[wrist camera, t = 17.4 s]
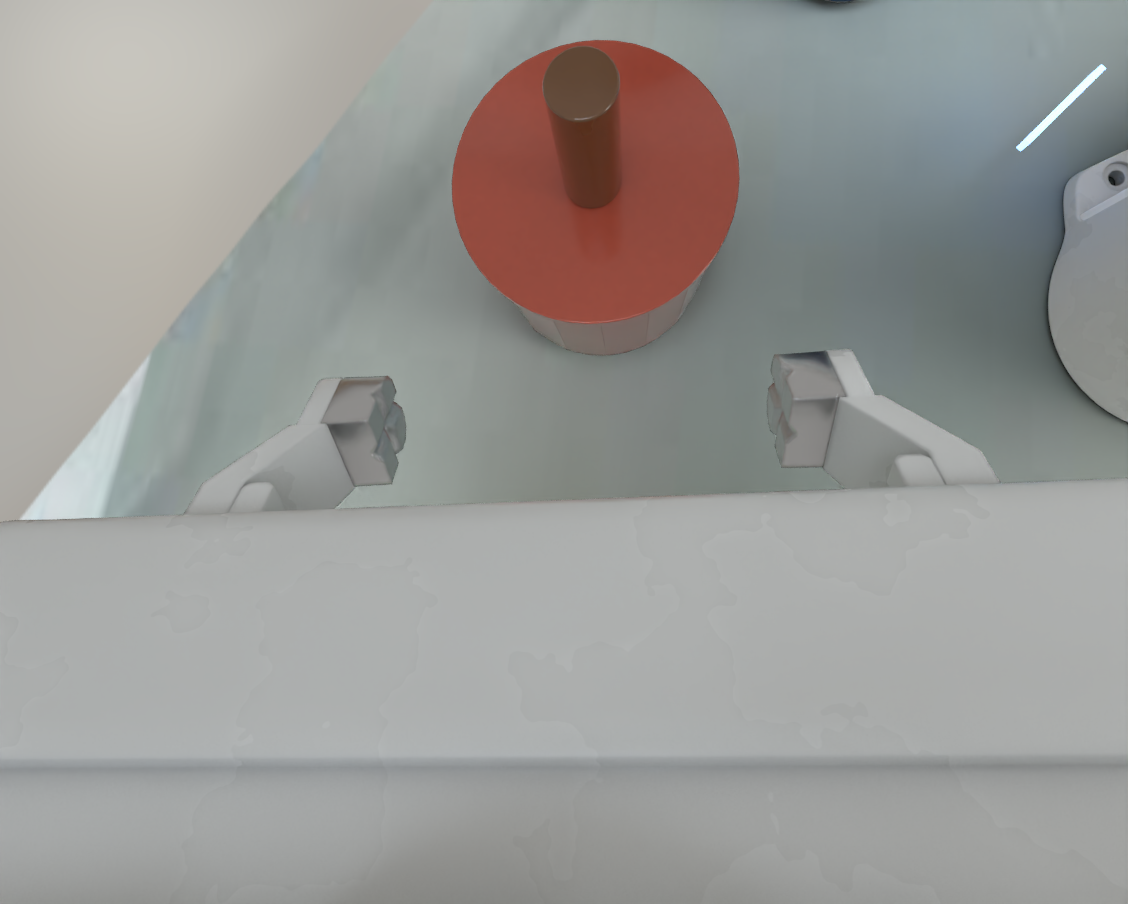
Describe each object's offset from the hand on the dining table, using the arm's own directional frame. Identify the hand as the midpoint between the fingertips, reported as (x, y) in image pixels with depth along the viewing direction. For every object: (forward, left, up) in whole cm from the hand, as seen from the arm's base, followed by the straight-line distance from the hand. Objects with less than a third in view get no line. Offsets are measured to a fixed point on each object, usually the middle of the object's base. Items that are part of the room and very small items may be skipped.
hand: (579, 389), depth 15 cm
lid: (-6, -9, -16) cm, 19 cm away
